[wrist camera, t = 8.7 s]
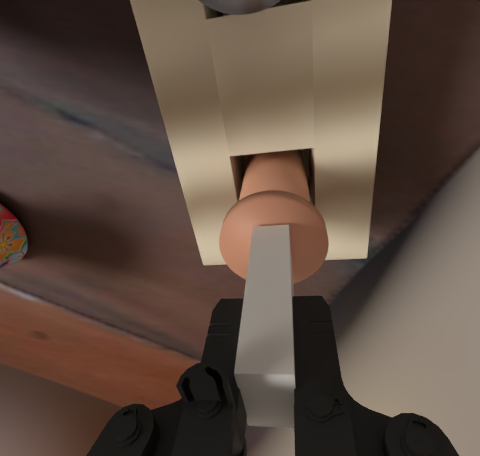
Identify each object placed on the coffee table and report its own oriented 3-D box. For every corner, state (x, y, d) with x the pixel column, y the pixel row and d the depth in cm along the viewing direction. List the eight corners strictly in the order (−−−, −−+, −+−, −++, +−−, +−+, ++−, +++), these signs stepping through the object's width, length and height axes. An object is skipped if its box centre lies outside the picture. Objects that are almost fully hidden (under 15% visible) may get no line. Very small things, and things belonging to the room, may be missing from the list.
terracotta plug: (234, 135, 20) (209, 204, 13) (311, 126, 19) (329, 194, 12) (244, 200, 23) (228, 287, 16) (312, 194, 22) (328, 284, 15)
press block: (132, -165, 15) (60, -250, 10) (374, -237, 13) (429, -382, 8) (217, 219, 27) (203, 265, 22) (350, 210, 25) (366, 258, 20)
